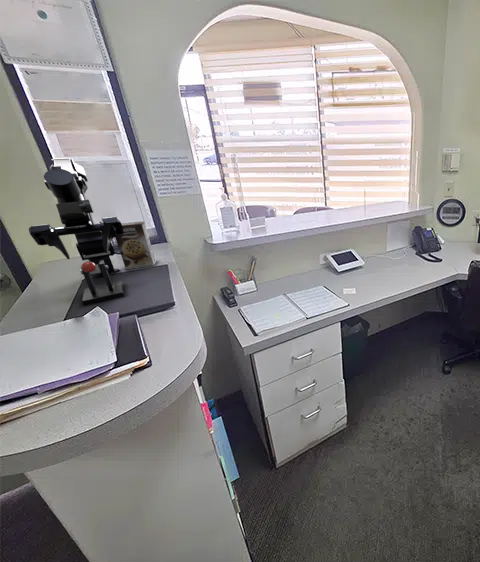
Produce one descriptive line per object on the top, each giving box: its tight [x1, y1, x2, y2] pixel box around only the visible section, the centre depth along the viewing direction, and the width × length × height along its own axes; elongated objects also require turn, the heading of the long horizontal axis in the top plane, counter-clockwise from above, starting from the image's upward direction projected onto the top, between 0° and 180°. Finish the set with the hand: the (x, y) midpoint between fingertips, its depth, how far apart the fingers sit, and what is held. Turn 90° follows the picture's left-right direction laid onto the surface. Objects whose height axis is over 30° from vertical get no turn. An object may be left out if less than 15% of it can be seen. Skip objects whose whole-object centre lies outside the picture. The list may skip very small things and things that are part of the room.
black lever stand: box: [79, 260, 125, 306], centre depth 91 cm, size 12×9×10 cm
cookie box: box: [114, 221, 157, 270], centre depth 116 cm, size 9×6×16 cm
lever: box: [80, 261, 101, 275], centre depth 85 cm, size 14×3×3 cm, turn 39°
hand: (87, 255), depth 84 cm, fingers open, 8 cm apart
